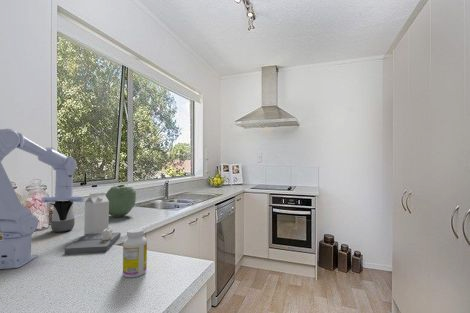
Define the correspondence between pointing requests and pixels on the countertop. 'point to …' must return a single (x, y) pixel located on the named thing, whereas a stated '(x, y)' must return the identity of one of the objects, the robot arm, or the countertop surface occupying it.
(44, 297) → the countertop surface
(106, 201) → the milk carton
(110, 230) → the fader knob
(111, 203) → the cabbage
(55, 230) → the smart speaker
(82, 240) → the console board
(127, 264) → the supplement bottle
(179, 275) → the countertop surface
